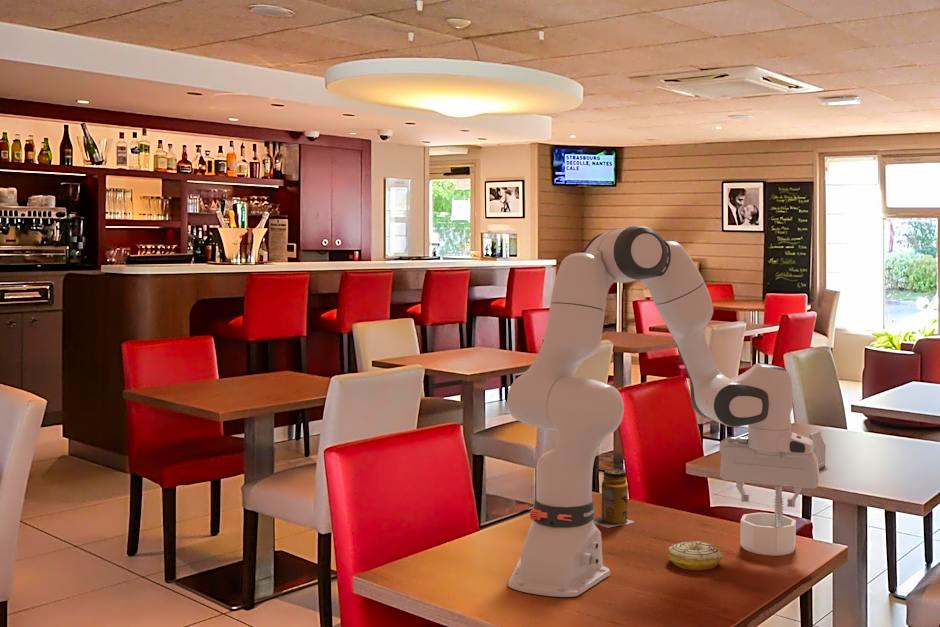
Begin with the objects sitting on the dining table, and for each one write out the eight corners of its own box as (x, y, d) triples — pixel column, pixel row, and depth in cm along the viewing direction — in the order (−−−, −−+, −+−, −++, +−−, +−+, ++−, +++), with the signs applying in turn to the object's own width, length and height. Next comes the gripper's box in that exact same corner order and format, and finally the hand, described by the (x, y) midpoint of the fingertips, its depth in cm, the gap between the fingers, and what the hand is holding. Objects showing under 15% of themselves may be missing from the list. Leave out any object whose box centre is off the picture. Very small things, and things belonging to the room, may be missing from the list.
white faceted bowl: (792, 558, 198) (792, 529, 198) (737, 551, 202) (738, 524, 202) (796, 543, 208) (797, 516, 208) (745, 537, 212) (745, 510, 212)
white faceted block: (825, 465, 280) (825, 432, 279) (816, 469, 275) (816, 435, 274) (812, 463, 282) (813, 430, 282) (803, 468, 277) (804, 433, 277)
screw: (762, 543, 206) (780, 540, 207) (776, 549, 201) (795, 546, 203) (761, 483, 205) (780, 481, 207) (776, 488, 200) (795, 486, 202)
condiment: (635, 522, 224) (635, 472, 223) (608, 528, 220) (608, 477, 219) (614, 515, 230) (614, 466, 229) (587, 521, 226) (587, 471, 225)
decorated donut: (731, 563, 196) (731, 545, 196) (705, 576, 188) (705, 558, 188) (685, 552, 203) (686, 534, 203) (659, 564, 195) (659, 546, 195)
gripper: (717, 438, 205) (715, 502, 205) (818, 446, 196) (817, 513, 197) (722, 433, 210) (720, 495, 211) (821, 441, 202) (819, 506, 203)
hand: (768, 504), depth 204 cm, fingers open, 8 cm apart
